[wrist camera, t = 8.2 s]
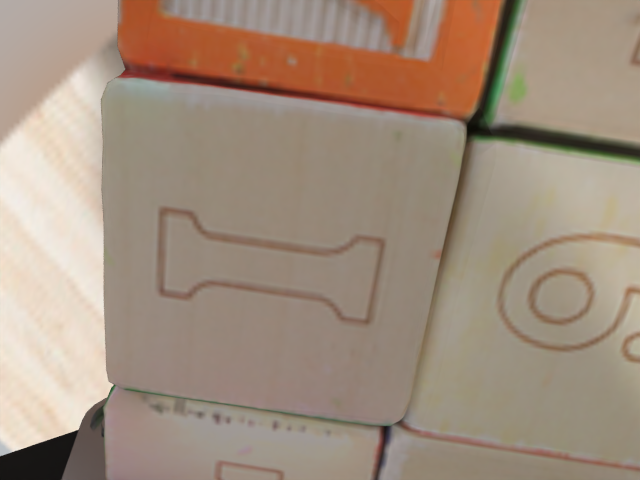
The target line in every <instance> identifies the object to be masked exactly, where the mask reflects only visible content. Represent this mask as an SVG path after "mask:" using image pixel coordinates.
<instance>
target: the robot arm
mask: <svg viewBox="0 0 640 480" xmlns="http://www.w3.org/2000/svg"><path fill="white" fill-rule="evenodd" d="M106 400H107V398H105V399H103V400H102V401H100V402H98V403H97V404H95V405H94V406H93V407H92V408H91V409H90V410H88V411H87V413H86V414H85V416H84V418H83V420H82V422H81V425H80V428H79V430H77V431H74V432H71V433H68V434H65V435H62V436H59V437H56V438H53V439H50V440H47V441H44V442H41V443H38V444H35V445H32V446H29V447H27V448H24V449H21V450H18V451H15V452H12V453H9V454H6V455H3V456H0V480H105V457H104V443H103V442H104V428H105V421H104V411H103V407H104V405H105V402H106Z"/></svg>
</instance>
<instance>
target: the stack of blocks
mask: <svg viewBox="0 0 640 480" xmlns="http://www.w3.org/2000/svg"><path fill="white" fill-rule="evenodd" d="M117 46H118V49H119V52H120V55H121V58H122V60H123V63H124V66H125V71H124V72H123V73H122V74H121V75H120V76H118V77H116V78H114V79H113V80H111V81H110V82H109V83H107V85H106V88H105V90H104V93H103V95H102V98H101V114H102V134H103V157H102V204H103V219H104V318H105V345H106V371H107V375H108V380H109V382H110V383H112V384H114V385H113V387H112V388H111V390H110V392H109V395H108V397H107V400H106V402H105V405H104V407H103V411H104V421H105V428H104V442H103V443H104V457H105V480H640V0H118V45H117Z"/></svg>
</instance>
